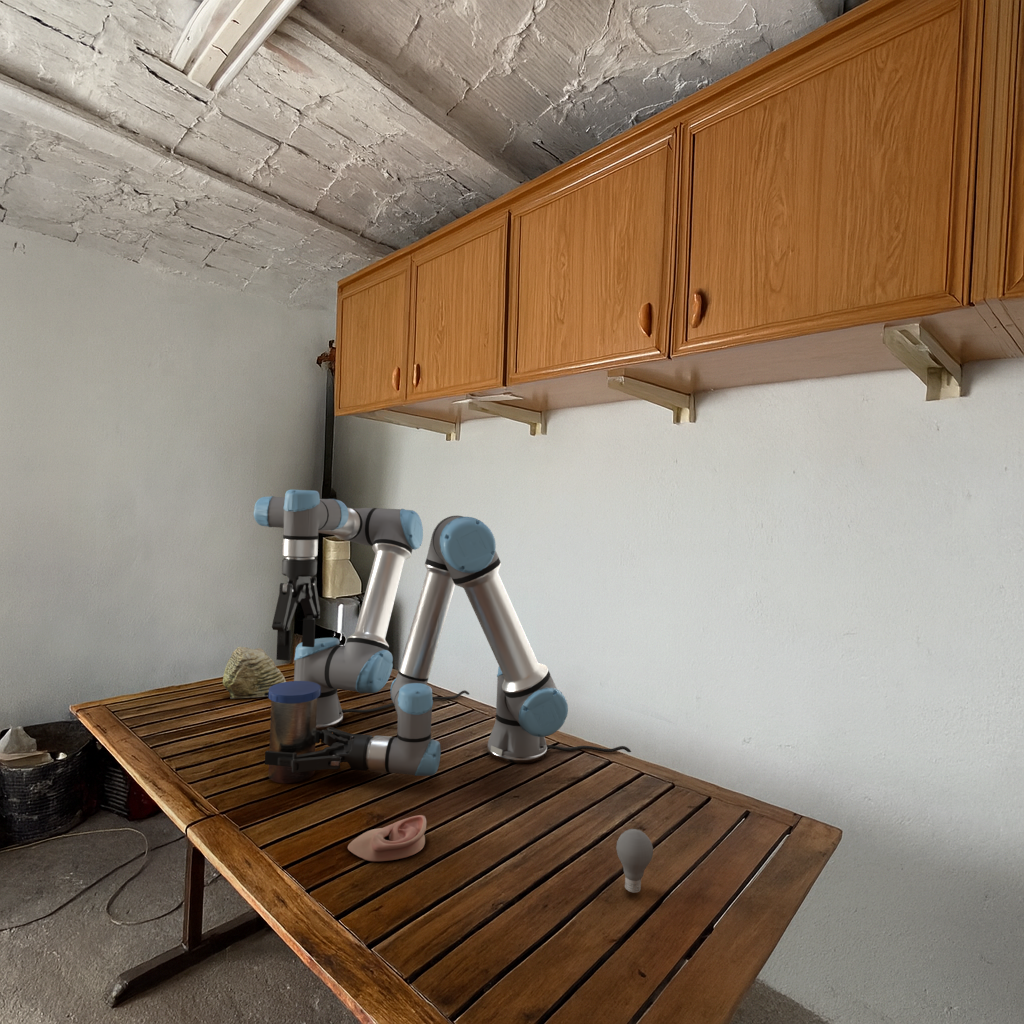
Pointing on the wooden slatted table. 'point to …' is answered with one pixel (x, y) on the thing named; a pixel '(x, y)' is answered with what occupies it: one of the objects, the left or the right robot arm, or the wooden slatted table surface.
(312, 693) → the lid
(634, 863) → the light bulb
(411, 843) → the anatomical model
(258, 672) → the fossil
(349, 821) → the wooden slatted table surface
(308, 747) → the jar
